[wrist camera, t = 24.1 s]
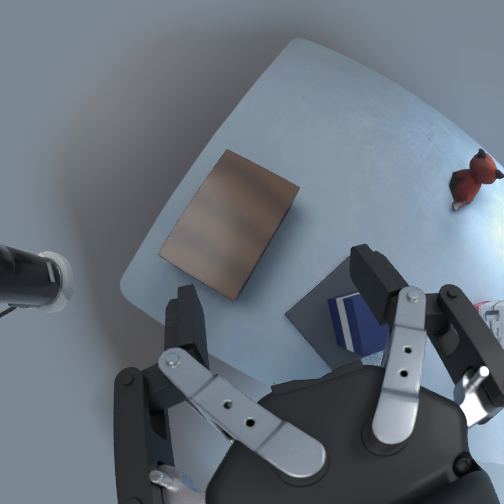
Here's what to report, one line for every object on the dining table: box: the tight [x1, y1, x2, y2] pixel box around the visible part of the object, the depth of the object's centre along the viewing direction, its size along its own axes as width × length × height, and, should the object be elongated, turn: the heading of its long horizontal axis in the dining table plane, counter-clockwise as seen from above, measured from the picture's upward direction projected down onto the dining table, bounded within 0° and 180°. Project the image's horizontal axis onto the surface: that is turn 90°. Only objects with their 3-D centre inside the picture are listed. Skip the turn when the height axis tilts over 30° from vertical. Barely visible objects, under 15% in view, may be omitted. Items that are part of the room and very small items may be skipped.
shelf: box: [158, 149, 300, 301], centre depth 43 cm, size 18×12×7 cm, turn 150°
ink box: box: [474, 301, 504, 349], centre depth 38 cm, size 9×5×12 cm, turn 7°
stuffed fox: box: [450, 149, 504, 210], centre depth 43 cm, size 8×11×12 cm
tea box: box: [327, 291, 390, 357], centre depth 38 cm, size 5×8×11 cm, turn 13°
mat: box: [285, 256, 363, 370], centre depth 44 cm, size 14×14×1 cm
